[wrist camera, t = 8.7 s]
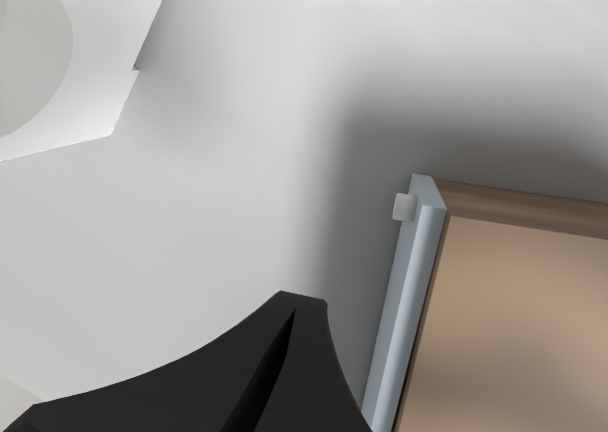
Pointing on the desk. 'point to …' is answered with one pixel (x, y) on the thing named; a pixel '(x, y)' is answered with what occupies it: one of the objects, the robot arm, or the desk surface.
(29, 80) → the bracket
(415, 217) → the door
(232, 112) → the desk surface
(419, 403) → the cabinet
